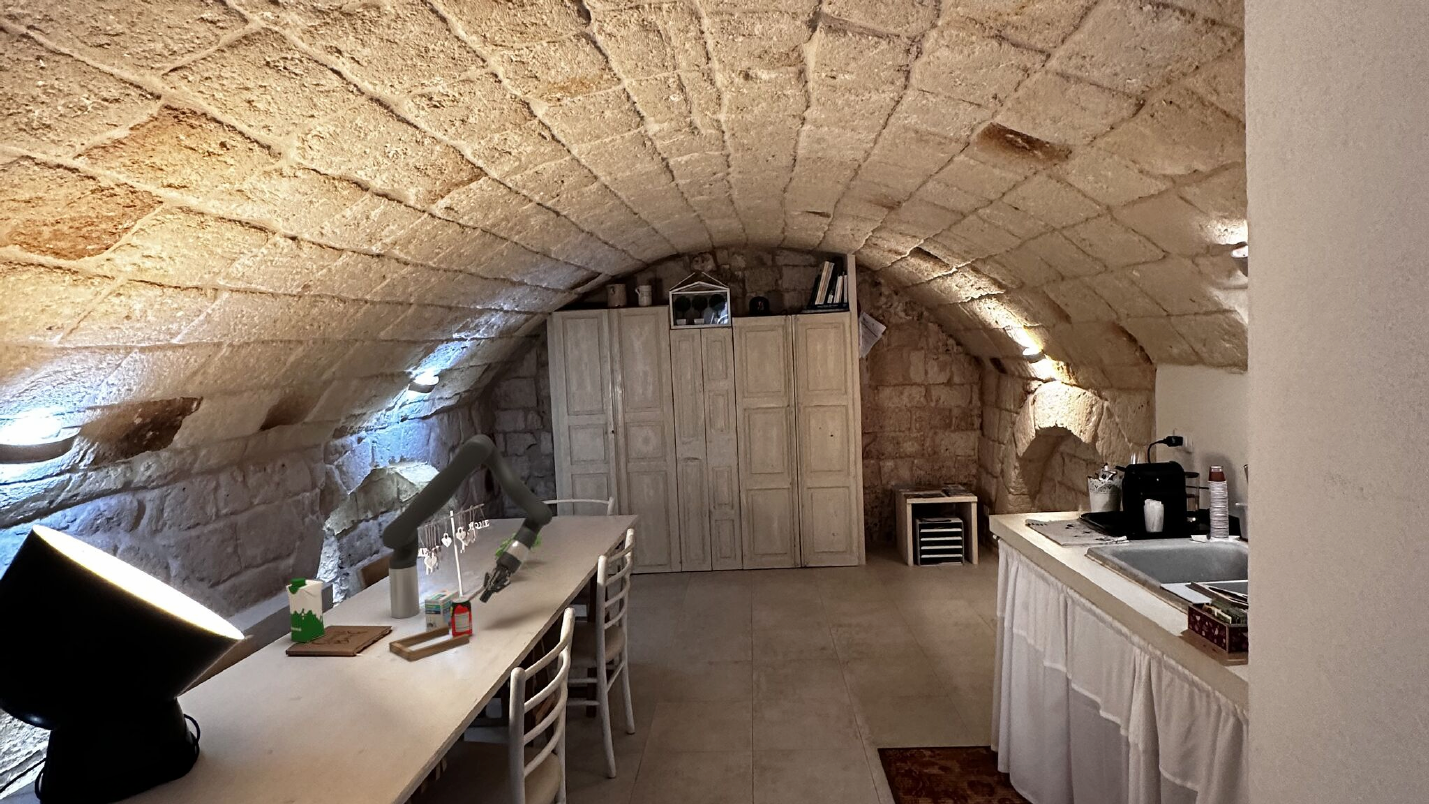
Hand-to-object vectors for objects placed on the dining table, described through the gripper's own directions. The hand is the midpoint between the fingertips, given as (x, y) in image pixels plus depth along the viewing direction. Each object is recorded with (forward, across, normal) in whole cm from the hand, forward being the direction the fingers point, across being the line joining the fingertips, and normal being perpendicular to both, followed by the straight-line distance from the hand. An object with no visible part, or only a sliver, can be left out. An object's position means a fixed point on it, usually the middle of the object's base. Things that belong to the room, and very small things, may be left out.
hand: (482, 601), depth 251 cm
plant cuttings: (-27, -45, +40) cm, 66 cm away
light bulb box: (+12, -14, +2) cm, 18 cm away
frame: (+20, 0, -7) cm, 21 cm away
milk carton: (+35, -40, -21) cm, 57 cm away
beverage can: (+12, 0, +1) cm, 12 cm away
